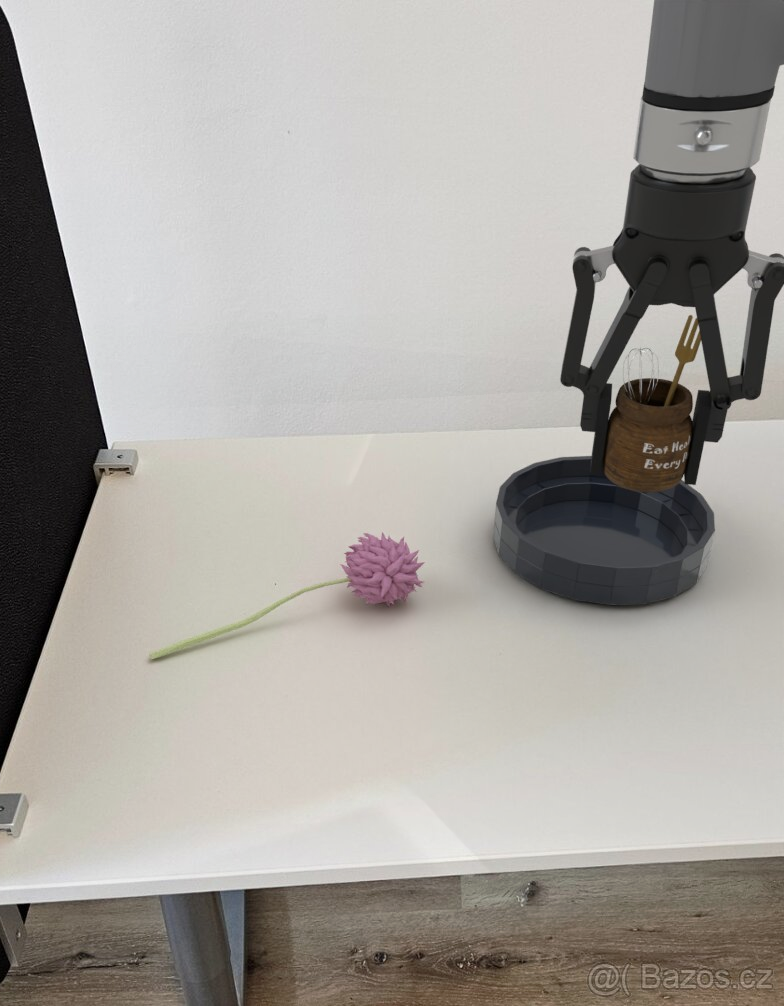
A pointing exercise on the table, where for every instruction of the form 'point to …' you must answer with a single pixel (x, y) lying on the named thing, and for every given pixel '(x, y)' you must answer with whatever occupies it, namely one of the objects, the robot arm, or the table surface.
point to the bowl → (601, 534)
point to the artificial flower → (372, 572)
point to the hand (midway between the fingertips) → (642, 470)
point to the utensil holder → (652, 427)
